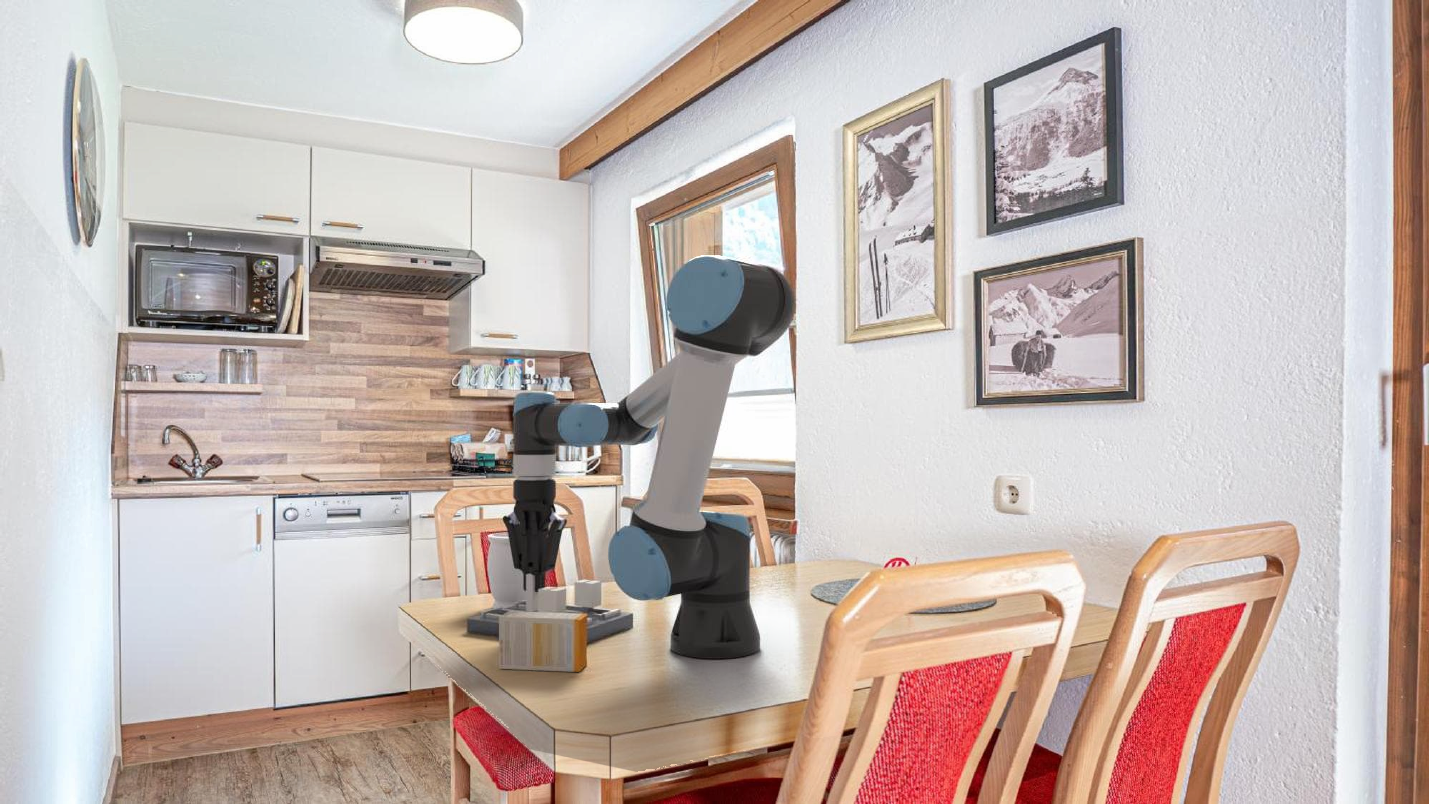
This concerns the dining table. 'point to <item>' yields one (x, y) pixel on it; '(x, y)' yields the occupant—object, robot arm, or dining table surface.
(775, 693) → the dining table surface
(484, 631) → the dark grey slotted tray
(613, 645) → the dining table surface
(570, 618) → the supplement box
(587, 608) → the fader
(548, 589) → the fader
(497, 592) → the jar
